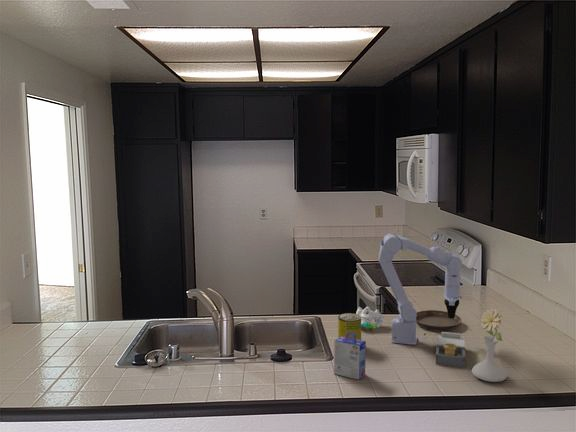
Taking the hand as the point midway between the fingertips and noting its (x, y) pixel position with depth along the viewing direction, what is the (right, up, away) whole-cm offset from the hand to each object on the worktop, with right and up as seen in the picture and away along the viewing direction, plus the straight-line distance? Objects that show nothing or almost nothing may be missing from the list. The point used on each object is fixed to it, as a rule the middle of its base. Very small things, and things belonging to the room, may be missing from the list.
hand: (451, 317), depth 206 cm
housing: (-5, -12, -13) cm, 18 cm away
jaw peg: (-6, -12, -17) cm, 22 cm away
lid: (-3, -7, -9) cm, 12 cm away
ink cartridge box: (-44, -14, -27) cm, 54 cm away
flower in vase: (+3, -14, -32) cm, 35 cm away
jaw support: (-31, -8, +19) cm, 37 cm away
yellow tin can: (-41, -11, -2) cm, 42 cm away
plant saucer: (0, -8, +22) cm, 23 cm away
